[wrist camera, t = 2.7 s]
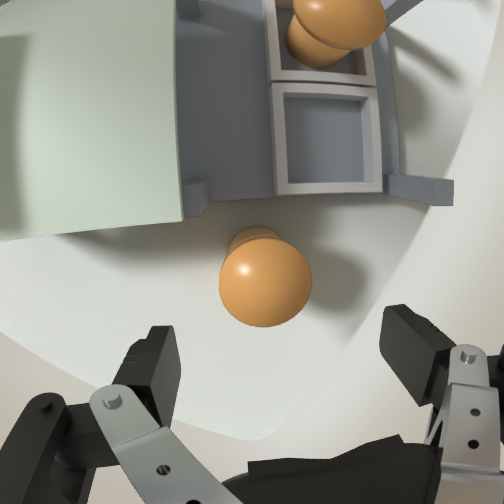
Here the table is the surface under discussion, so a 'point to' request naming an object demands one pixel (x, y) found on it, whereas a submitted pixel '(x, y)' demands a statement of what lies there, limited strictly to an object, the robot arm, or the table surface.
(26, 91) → the lid
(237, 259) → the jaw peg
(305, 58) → the ball
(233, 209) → the table surface
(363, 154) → the housing
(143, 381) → the robot arm
